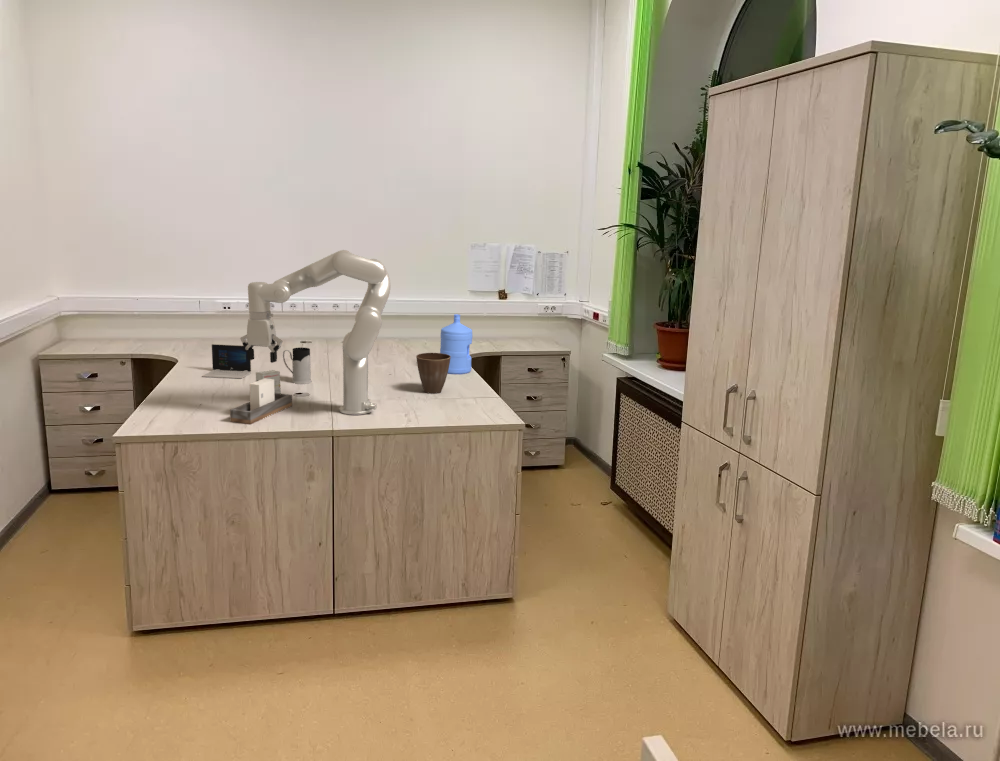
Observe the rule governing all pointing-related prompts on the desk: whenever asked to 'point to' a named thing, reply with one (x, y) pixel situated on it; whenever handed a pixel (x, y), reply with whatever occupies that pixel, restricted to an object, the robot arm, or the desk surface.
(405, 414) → the desk surface
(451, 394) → the desk surface
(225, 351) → the laptop
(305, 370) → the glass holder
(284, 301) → the robot arm
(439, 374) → the plant pot
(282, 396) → the door track
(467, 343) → the water jug
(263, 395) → the white rectangular box
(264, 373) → the ink box
